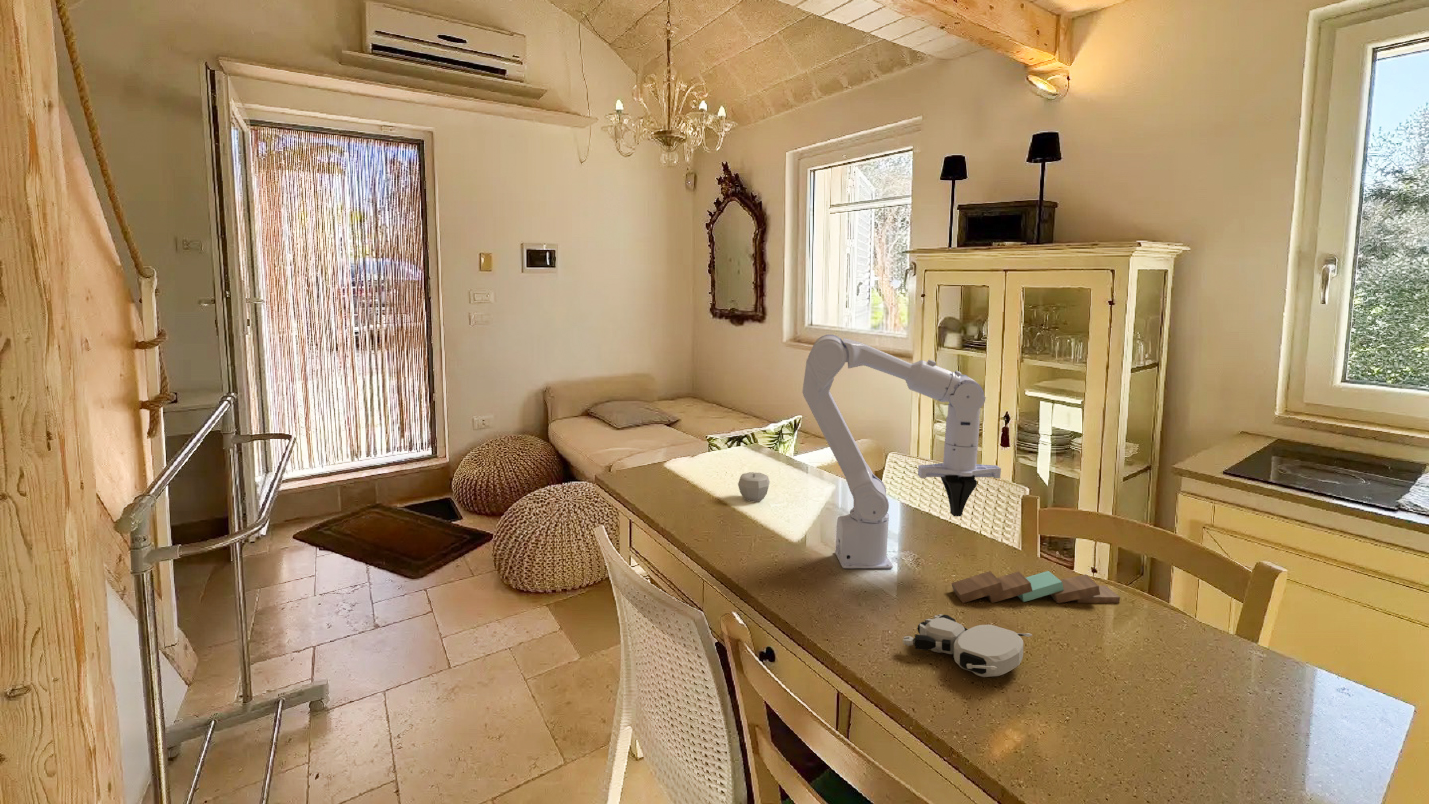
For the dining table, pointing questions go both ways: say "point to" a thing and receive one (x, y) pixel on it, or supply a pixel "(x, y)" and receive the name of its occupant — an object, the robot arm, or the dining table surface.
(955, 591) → the walnut domino
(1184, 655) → the dining table surface
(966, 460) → the robot arm
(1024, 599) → the teal domino
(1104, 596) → the walnut domino
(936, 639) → the robot toy
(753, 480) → the apple
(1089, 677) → the dining table surface
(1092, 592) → the walnut domino
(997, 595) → the walnut domino
